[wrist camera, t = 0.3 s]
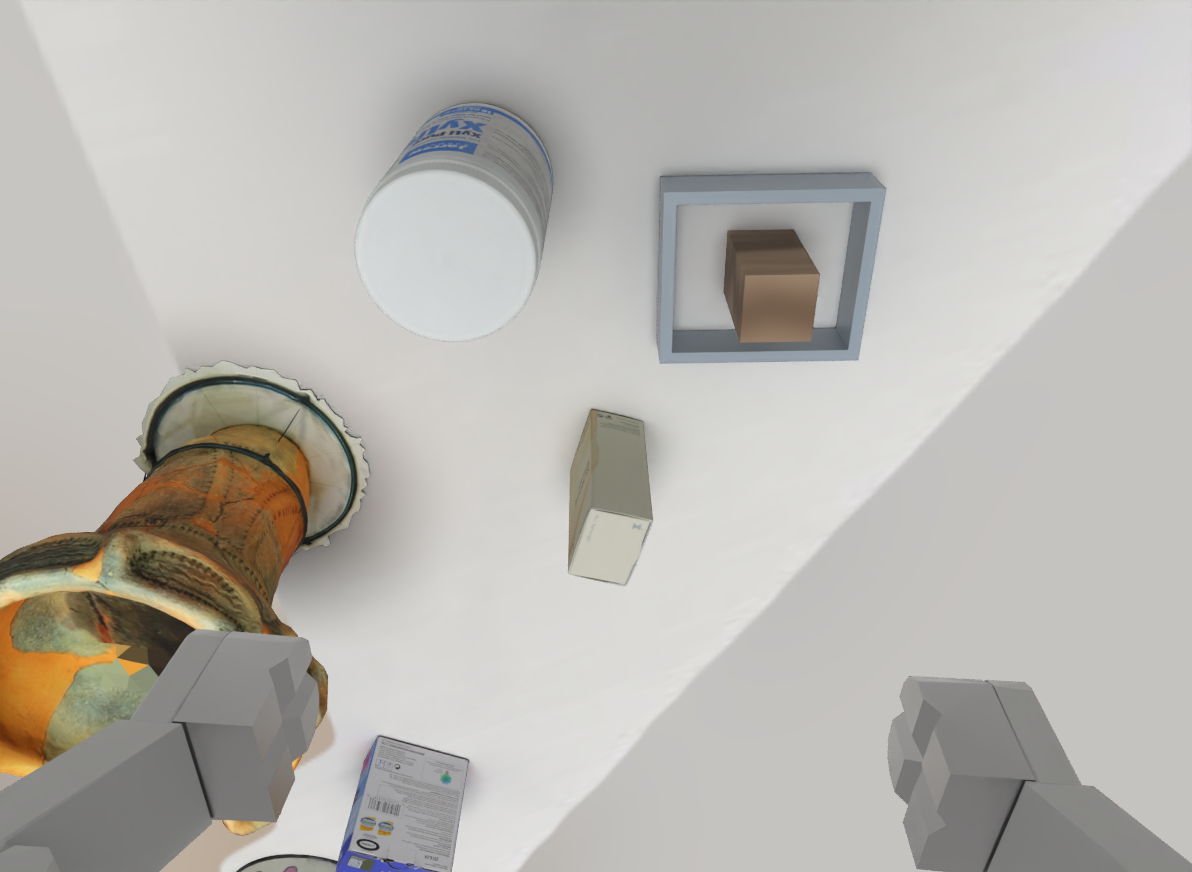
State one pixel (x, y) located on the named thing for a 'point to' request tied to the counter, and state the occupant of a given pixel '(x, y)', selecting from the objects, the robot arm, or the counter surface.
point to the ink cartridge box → (404, 811)
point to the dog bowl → (290, 864)
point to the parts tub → (772, 189)
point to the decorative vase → (172, 557)
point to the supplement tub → (458, 225)
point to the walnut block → (770, 286)
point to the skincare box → (609, 499)
